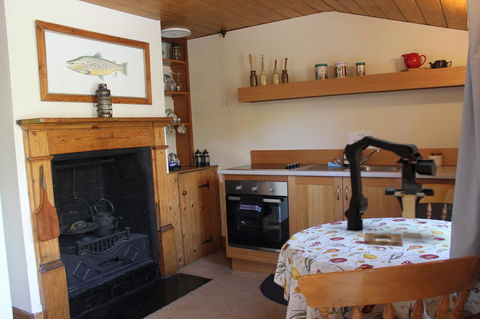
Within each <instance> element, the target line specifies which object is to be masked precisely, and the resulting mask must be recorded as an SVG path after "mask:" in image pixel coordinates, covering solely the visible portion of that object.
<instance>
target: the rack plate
mask: <svg viewBox="0 0 480 319" xmlns="http://www.w3.org/2000/svg"><path fill="white" fill-rule="evenodd" d="M364 245H369V246H370V245H371V246H390V247H396V248H395V250H396V249H399V248H397V247H403V239H402V235H401V234H400V233H399V234H397V233H383V232H382V233H381V232H379V233H378V232H364ZM378 248H380V249H381V248H382V247H378Z"/></svg>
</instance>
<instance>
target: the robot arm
mask: <svg viewBox="0 0 480 319" xmlns="http://www.w3.org/2000/svg"><path fill="white" fill-rule="evenodd" d="M369 147H372V148H377V149H380V150H383V151H384V150H385V151H388V152H391V153H393V154H395V155H396V156H398V157H399V159H398V160H397V161H395V163H396V164H398V165H399V164H401V165H400V166H401V167H400V170H401V171H400V172H401V174H400V176H401V177H400V182H401V183H400V184H401V185H400V186H401V187H400V188H395V186H385V187H384V195H385V196H393V198H396V199H397V201H398V203H399V206H400V210H401V212H403V196H402V194H403V195H405V196H414V199H415V213H416V212H417V208H418V206H419V204H420V201H421V200H422V199H425V196H426V197H434V196H435V189H433V188H432V187H429V186H428V187H427V186H426V187H424V186H423V184H422V182H417V174H418V175H419V176H422V177H423V176H426V177H435V176H436V175H437V171H438V167H437V163H436V160H435V158H430V159H427V158H425V159H424V157H423V156H422V154H421V152H420V151H419V148H418V146H417V145H415V144H414V143H413V144H412V143H402V142H400V143H398V142H394V141H390V140H386V139H382V138H378V137H374V136H372V135H366V136H363V137H362V138H361V139H359V140H357V141H355V142H353V143H349V144H346V145H345V147H344V148H343V149H344V156H345V160H346V161H347V162H348V164H349V176H350V177H349V178H350V189H351V190H350V191H351V197H350V199H349V203H348V208H347V209H346V210H345V211H344V212H343V214H344V217H345V218H346V221H347V222H346V224H347V225H346V226H347V228H346V231H350V232H352V231H353V232H362V231H363V229H364V219H363V217H362V216H365V215H364V214H365V212H366V211H367V210H368V207H369V202H368V200H369V199H368V197H365V195H364V193H363V183H362V171H361V161H362V159H363V152H364V151H365V150H367V149H368V148H369Z"/></svg>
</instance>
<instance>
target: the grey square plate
mask: <svg viewBox="0 0 480 319" xmlns="http://www.w3.org/2000/svg"><path fill="white" fill-rule="evenodd" d="M402 234H403V238H404V239H405V238H406V239H407V238H410V239H423V236H422V233H420V232H402Z"/></svg>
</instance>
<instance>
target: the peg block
mask: <svg viewBox="0 0 480 319" xmlns="http://www.w3.org/2000/svg"><path fill="white" fill-rule="evenodd" d="M402 204H403V212H402V211H401V212H402V219H405V220H407V219H408V220H415V219H416V212H415V197H402Z"/></svg>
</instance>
